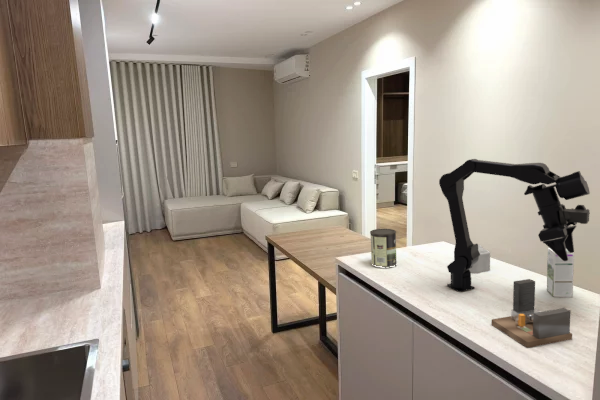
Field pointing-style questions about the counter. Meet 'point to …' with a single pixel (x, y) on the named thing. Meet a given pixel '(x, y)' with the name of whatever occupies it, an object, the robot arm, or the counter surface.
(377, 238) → the coffee can
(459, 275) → the robot arm
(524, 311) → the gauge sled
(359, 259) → the counter surface
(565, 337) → the base
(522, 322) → the cylinder
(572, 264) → the syrup box
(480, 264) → the grey block
